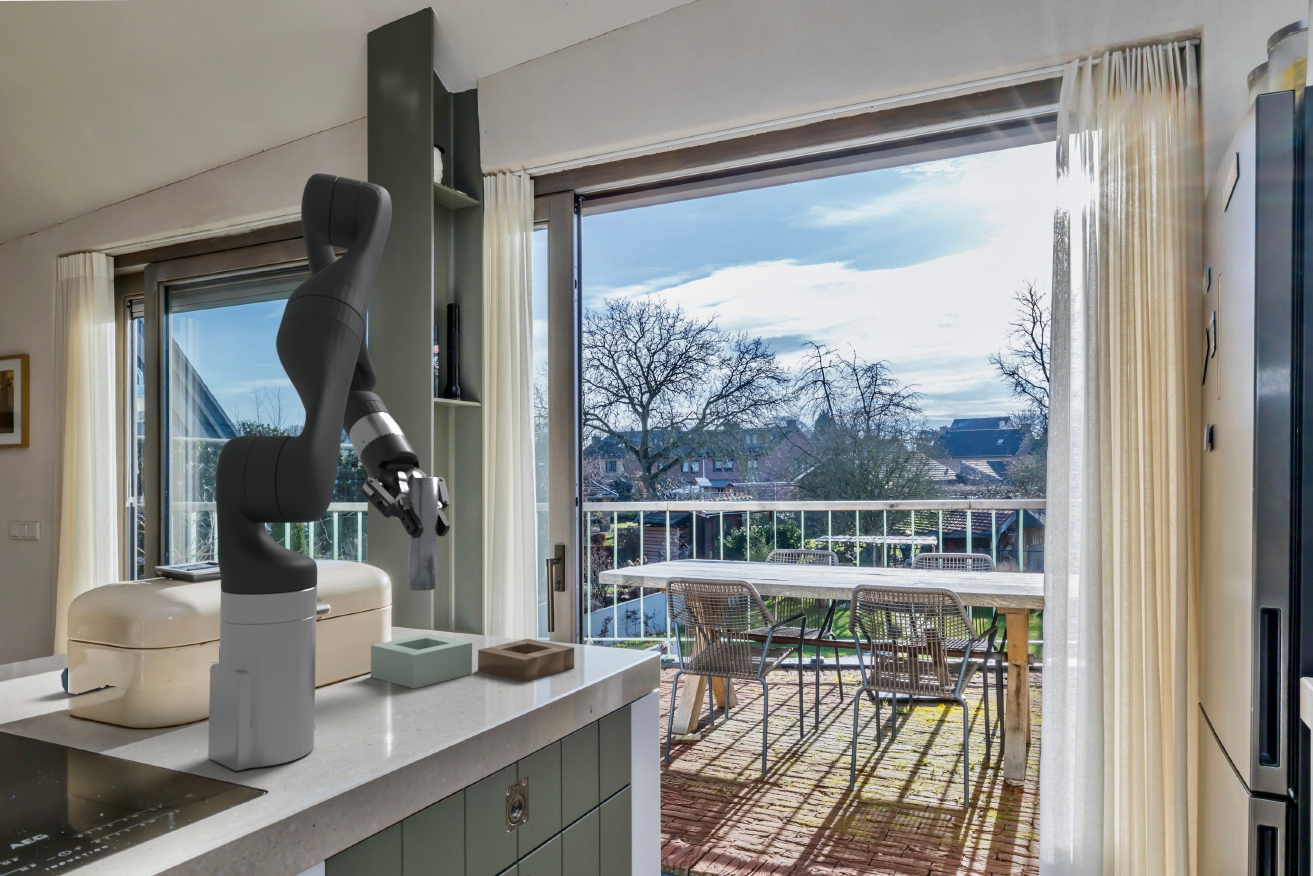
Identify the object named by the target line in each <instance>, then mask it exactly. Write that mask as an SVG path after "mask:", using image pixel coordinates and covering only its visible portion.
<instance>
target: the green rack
mask: <svg viewBox="0 0 1313 876" xmlns="http://www.w3.org/2000/svg"><path fill="white" fill-rule="evenodd" d="M472 674H473V642H470V641H466V640H461V639H456V638H453V637H451V638H450V637H447V636H441V635H436V634H432V633H427V634H422V635H416V636H411V637H410V636H409V637H406V638H401V639H396V640H391V641H390V640H389V641H385V642H380V643H375V644H371V645H370V677H371V678H374V679H378V680H381V681H385V682H389V683H392V684H396V685H400V686H403V687H406V688H411V689H418V688H421V687H426V686H429V685H433V684H434V685H435V684H437V683H442V682H447V681H450V680H454V679H457V678H461V677H465V676H469V675H472Z"/></svg>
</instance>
